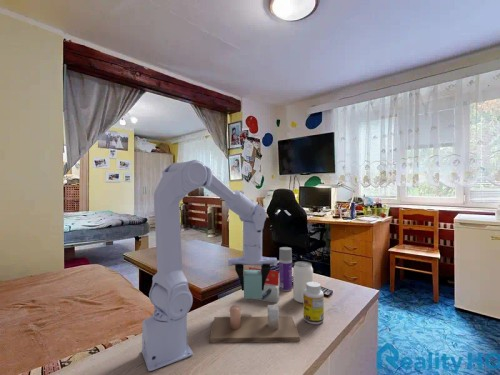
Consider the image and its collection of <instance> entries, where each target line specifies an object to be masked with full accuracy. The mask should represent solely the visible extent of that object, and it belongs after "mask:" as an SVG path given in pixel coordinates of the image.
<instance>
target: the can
mask: <svg viewBox="0 0 500 375" xmlns="http://www.w3.org/2000/svg"><path fill="white" fill-rule="evenodd" d="M312 265H313V264H312V263H311V262H310V261H309V262H308V261H300V260H299V261H296V262H294V266H293V267H292V290H293V295H292V296H293V300H294V301H295V302H297V303H300V304H304V290H305V289H306V283H307V282H314V268H313V266H312Z"/></svg>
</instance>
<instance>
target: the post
mask: <svg viewBox="0 0 500 375" xmlns="http://www.w3.org/2000/svg"><path fill="white" fill-rule="evenodd" d="M279 311H280V310H279V306H278V304H267V316H268V329H279V316H280V314H279Z"/></svg>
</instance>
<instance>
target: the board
mask: <svg viewBox="0 0 500 375" xmlns="http://www.w3.org/2000/svg"><path fill="white" fill-rule="evenodd" d="M300 338H301V336H300V334H299V331H298V328H297V326H296V323H295V321H294V318H293V316H291V315H290V316H289V315H283V316H282V315H281V316H280V315H279V329H268V315H267V316H265V315H264V316H241V327H240V328H239V329H236V330H234V329H231V328H230V316H215V317H214V318H213V322H212V326H211V332H210V335H209V343H248V342H249V343H253V342H254V343H255V342H256V343H258V342H261V343H262V342H266V343H267V342H270V343H271V342H300V340H301V339H300Z"/></svg>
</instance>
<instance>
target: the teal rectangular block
mask: <svg viewBox="0 0 500 375" xmlns="http://www.w3.org/2000/svg"><path fill="white" fill-rule="evenodd" d="M243 277H244V291H243V299H253V298H262V274H261V270H249V269H243Z"/></svg>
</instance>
